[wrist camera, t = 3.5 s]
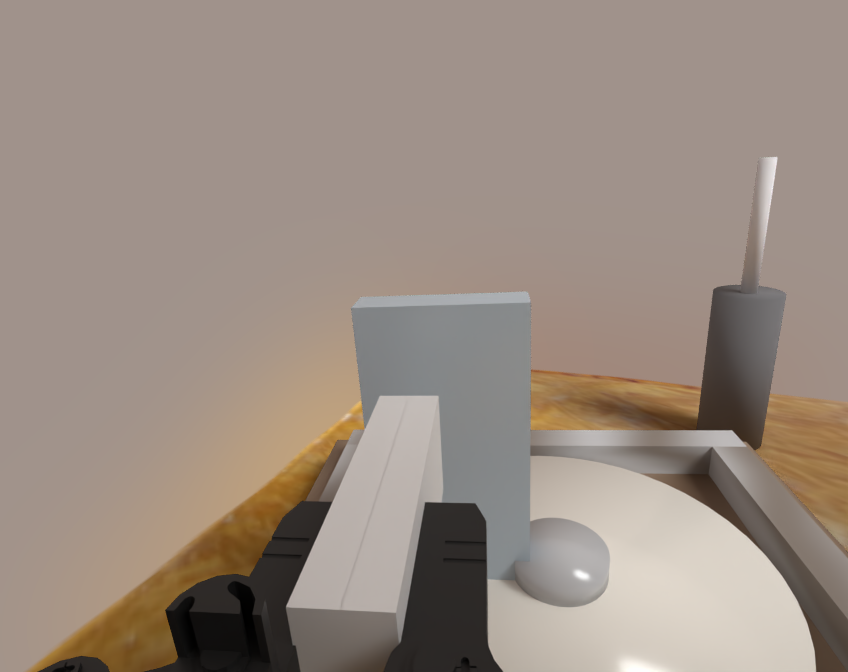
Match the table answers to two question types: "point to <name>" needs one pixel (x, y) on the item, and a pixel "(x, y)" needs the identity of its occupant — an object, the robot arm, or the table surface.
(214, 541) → the table surface
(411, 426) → the robot arm
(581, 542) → the dial
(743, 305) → the screwdriver
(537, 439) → the dial housing
